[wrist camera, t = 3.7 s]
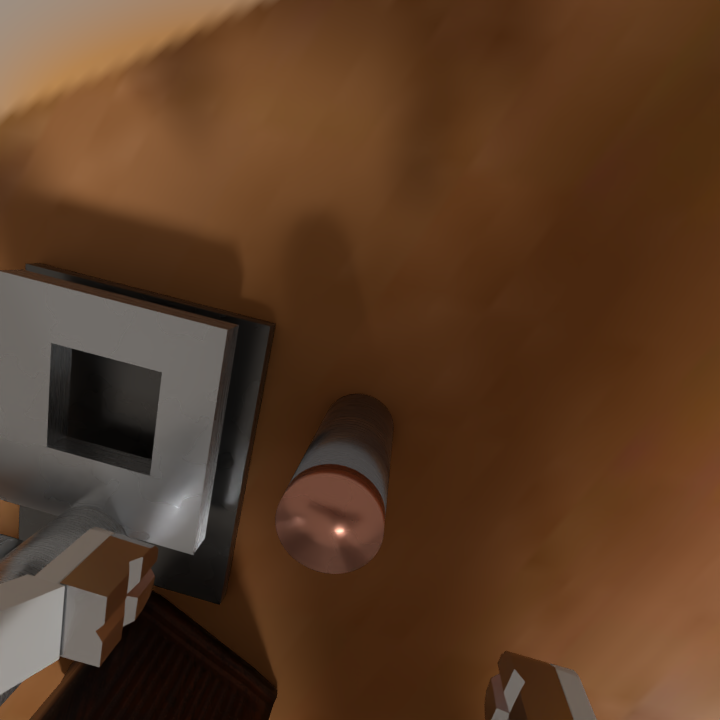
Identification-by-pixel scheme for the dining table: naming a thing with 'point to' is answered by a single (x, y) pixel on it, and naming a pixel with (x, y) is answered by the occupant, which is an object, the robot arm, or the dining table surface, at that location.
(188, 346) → the pipe elbow on plate
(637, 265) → the dining table surface
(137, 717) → the dark brown coffee grinder
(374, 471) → the pin
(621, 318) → the dining table surface
